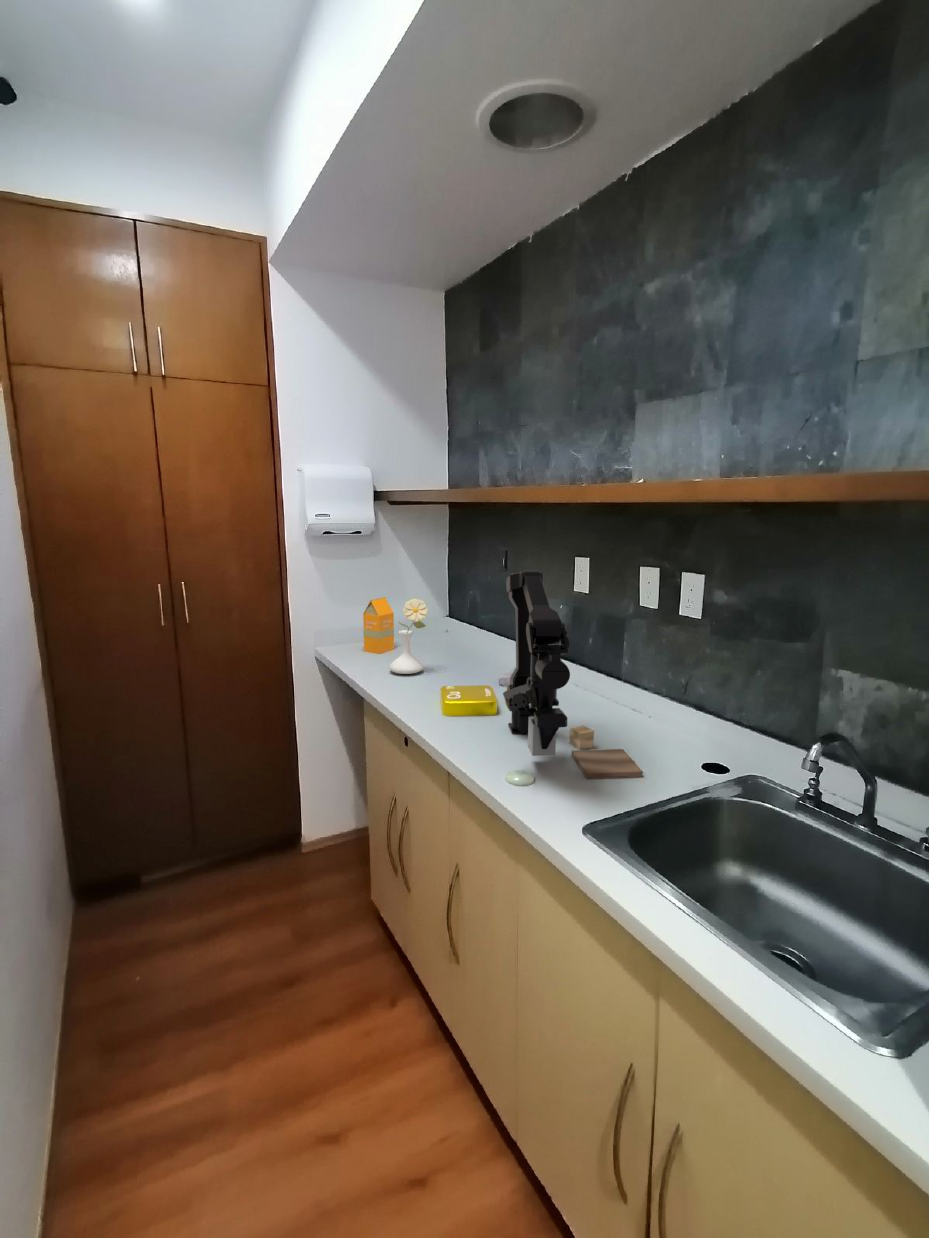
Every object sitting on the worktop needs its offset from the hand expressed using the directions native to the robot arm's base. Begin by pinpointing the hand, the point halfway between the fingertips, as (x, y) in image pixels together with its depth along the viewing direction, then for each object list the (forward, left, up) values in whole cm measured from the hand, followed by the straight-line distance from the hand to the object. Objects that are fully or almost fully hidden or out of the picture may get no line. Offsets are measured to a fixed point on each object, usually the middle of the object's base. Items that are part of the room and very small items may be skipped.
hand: (541, 744), depth 136 cm
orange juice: (-107, -39, -5) cm, 114 cm away
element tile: (-40, -12, -5) cm, 42 cm away
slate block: (0, 0, -2) cm, 2 cm away
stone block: (-60, +7, -5) cm, 61 cm away
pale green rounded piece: (+7, -6, -5) cm, 10 cm away
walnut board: (+2, +14, -5) cm, 15 cm away
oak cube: (-10, +12, -5) cm, 16 cm away
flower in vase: (-76, -28, -5) cm, 81 cm away
